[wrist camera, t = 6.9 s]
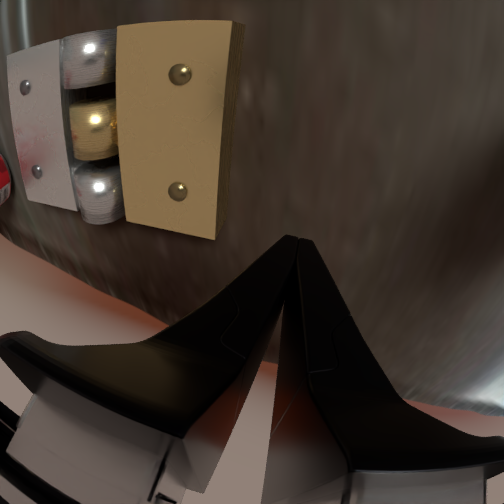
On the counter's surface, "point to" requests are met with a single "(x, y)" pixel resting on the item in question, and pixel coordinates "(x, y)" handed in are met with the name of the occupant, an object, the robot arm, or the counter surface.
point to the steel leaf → (63, 124)
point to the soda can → (4, 180)
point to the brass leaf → (169, 122)
